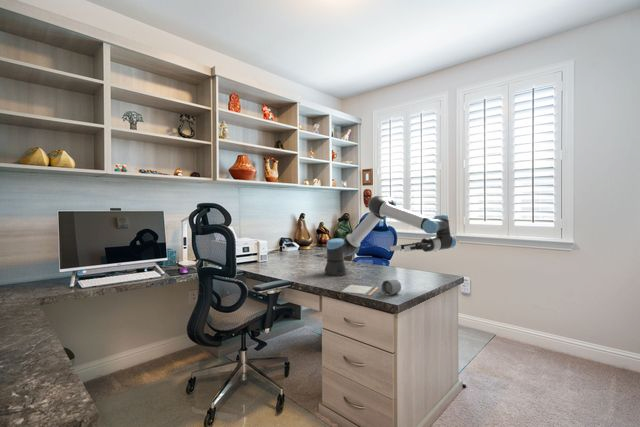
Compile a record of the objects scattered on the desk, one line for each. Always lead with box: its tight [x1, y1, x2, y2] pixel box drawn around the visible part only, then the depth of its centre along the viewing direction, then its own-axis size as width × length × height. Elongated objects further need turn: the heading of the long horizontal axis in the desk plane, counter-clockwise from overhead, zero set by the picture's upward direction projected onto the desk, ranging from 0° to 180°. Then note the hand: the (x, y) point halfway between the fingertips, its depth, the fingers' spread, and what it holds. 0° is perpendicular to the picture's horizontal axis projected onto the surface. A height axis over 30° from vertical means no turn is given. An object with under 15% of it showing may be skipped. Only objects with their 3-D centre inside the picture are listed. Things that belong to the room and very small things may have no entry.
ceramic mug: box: [379, 279, 402, 296], centre depth 173 cm, size 11×8×8 cm
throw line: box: [367, 286, 380, 297], centre depth 176 cm, size 17×2×1 cm, turn 155°
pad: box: [341, 284, 374, 296], centre depth 180 cm, size 15×13×1 cm
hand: (397, 248), depth 176 cm, fingers open, 13 cm apart
